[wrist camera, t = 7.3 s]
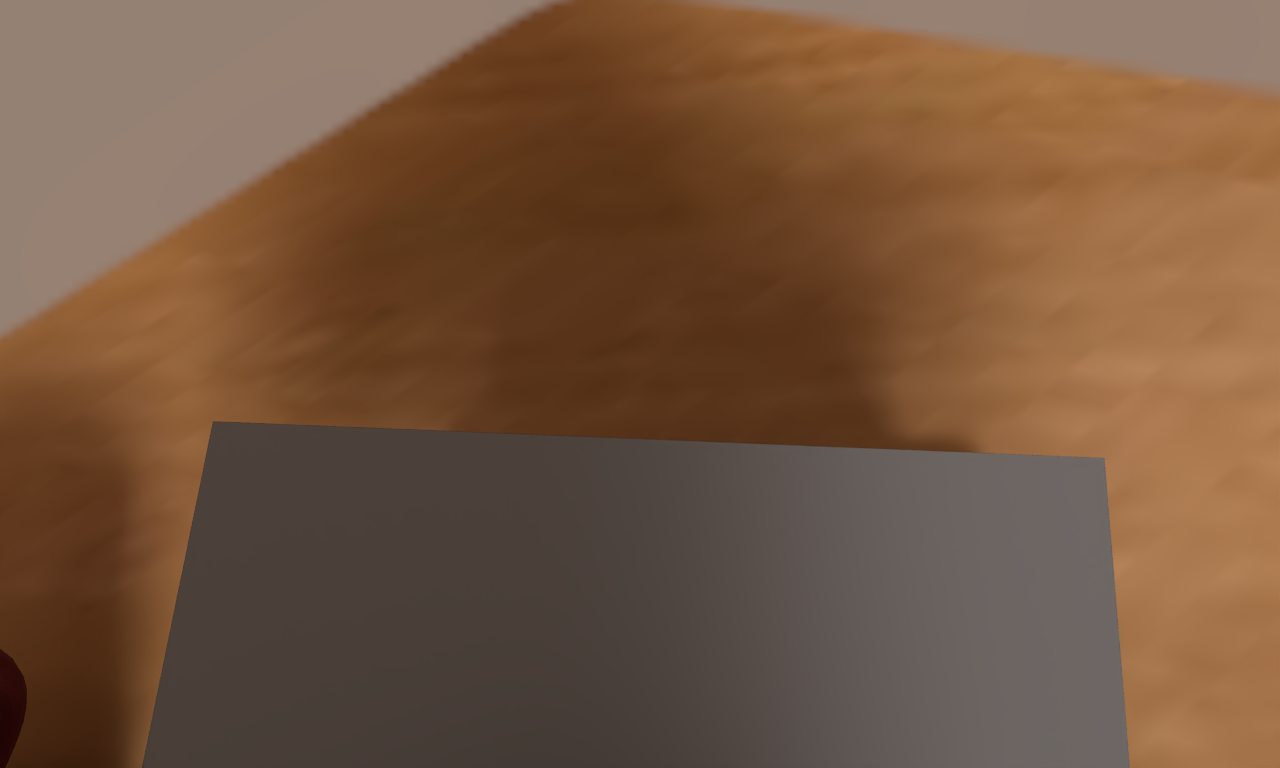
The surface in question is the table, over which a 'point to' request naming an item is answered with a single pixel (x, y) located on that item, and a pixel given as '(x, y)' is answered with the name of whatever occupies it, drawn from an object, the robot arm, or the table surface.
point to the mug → (10, 706)
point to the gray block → (637, 606)
